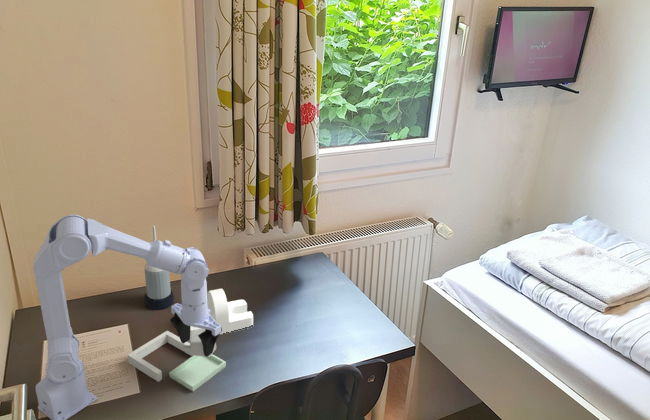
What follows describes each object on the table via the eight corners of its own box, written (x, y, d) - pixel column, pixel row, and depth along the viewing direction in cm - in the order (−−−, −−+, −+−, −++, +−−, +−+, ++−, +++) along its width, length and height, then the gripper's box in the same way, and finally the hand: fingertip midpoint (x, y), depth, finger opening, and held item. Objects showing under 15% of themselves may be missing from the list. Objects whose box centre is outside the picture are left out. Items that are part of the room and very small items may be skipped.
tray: (193, 391, 121) (192, 386, 120) (169, 377, 125) (169, 372, 124) (226, 366, 129) (226, 361, 129) (203, 353, 133) (203, 349, 132)
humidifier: (178, 296, 156) (173, 221, 146) (167, 311, 149) (161, 234, 139) (152, 293, 157) (145, 218, 147) (140, 308, 149) (132, 231, 139)
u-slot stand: (182, 322, 145) (180, 289, 141) (244, 309, 153) (243, 277, 148) (189, 342, 137) (187, 308, 133) (254, 327, 145) (254, 294, 140)
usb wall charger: (208, 358, 122) (205, 343, 121) (183, 355, 124) (179, 341, 123) (216, 347, 125) (213, 333, 124) (191, 346, 128) (188, 332, 126)
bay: (158, 381, 123) (157, 373, 122) (128, 362, 128) (127, 354, 127) (197, 354, 132) (196, 347, 131) (167, 338, 138) (167, 330, 137)
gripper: (230, 303, 118) (230, 351, 123) (185, 282, 125) (188, 328, 131) (207, 317, 113) (209, 366, 118) (162, 294, 120) (166, 342, 125)
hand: (197, 347), depth 124 cm, fingers closed on usb wall charger, 7 cm apart
